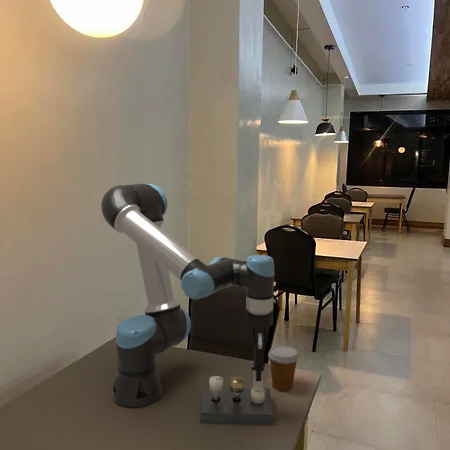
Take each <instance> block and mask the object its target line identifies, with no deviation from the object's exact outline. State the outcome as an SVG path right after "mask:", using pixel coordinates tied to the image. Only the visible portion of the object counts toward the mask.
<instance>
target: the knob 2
mask: <svg viewBox="0 0 450 450" xmlns="http://www.w3.org/2000/svg"><path fill="white" fill-rule="evenodd" d="M250 388H251V402H253V403H256V404H261V403H263V402H264V396H265V390H264V389H263V391H253V387H250Z"/></svg>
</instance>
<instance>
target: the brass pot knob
mask: <svg viewBox="0 0 450 450" xmlns="http://www.w3.org/2000/svg"><path fill="white" fill-rule="evenodd" d="M229 387H230V391H231V392H233V393H234V400H235V401H238V400H239V397H240V393H241V392H243V391H244V388H245V379H244V378H243V377H241V376H233V377H230V378H229Z"/></svg>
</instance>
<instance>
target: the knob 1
mask: <svg viewBox="0 0 450 450" xmlns="http://www.w3.org/2000/svg"><path fill="white" fill-rule="evenodd" d="M208 383H209V385H208V387H209V390H210V391H211V392H213V399H214V400H218V399H219V392H221V391H222V390H223V387H224V378H223V377H222V376H219V375H214V376H213V375H212V376H210V378H209V379H208Z"/></svg>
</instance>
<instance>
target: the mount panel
mask: <svg viewBox="0 0 450 450" xmlns="http://www.w3.org/2000/svg"><path fill="white" fill-rule="evenodd" d="M251 388H252V387H244V391H243V392H241V393H240V397H239V400H238V401H235V400H234V393H233V392H231V391H230V386H229V387H224V386H223V390H222V391H221V392H219V399H218V400H214V399H213V392H211V391H210V390H209V386H203V391H202V397H201V405H200V412H199V423H201V424H229V425H231V424H232V425H262V426H264V425H265V426H268V425H271V426H273V425H274V411H273V402H272V395H271V389H270V387H268V388H266V387H265V388H264V387H263V389H264V390H265V396H264V402H263V403H261V404H256V403H253V402H251Z"/></svg>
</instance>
